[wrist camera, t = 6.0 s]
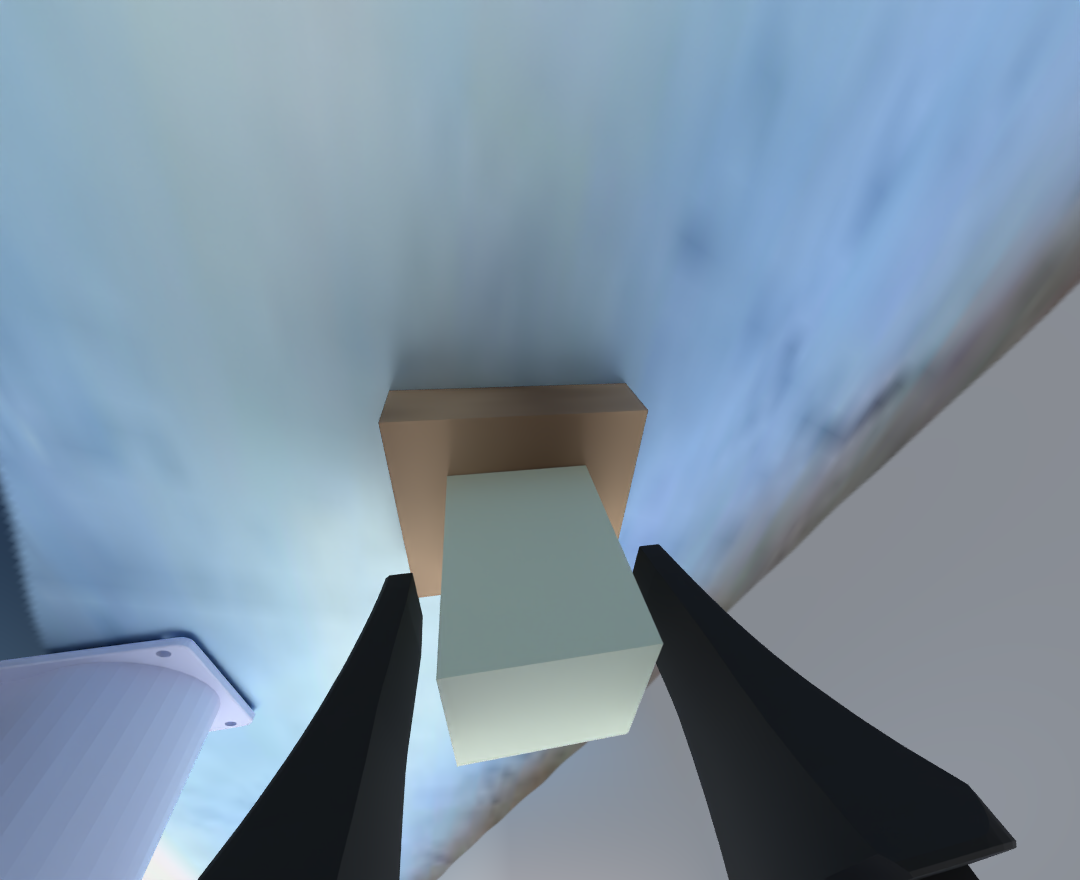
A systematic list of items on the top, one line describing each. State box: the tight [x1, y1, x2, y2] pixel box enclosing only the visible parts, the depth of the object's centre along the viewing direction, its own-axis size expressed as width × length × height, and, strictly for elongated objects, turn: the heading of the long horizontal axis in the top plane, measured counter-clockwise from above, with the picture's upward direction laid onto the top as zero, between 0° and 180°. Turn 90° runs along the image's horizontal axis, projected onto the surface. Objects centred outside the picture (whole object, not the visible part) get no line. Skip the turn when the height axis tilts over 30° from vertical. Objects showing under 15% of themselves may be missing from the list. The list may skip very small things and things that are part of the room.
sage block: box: [436, 465, 663, 766], centre depth 11 cm, size 4×4×6 cm
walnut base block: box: [379, 383, 648, 598], centre depth 15 cm, size 8×8×2 cm
